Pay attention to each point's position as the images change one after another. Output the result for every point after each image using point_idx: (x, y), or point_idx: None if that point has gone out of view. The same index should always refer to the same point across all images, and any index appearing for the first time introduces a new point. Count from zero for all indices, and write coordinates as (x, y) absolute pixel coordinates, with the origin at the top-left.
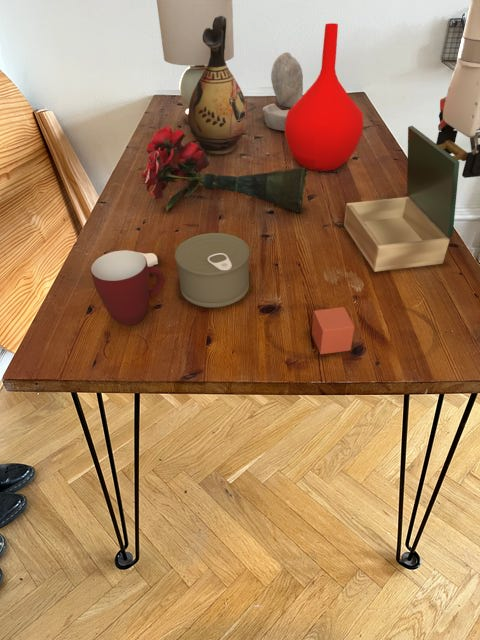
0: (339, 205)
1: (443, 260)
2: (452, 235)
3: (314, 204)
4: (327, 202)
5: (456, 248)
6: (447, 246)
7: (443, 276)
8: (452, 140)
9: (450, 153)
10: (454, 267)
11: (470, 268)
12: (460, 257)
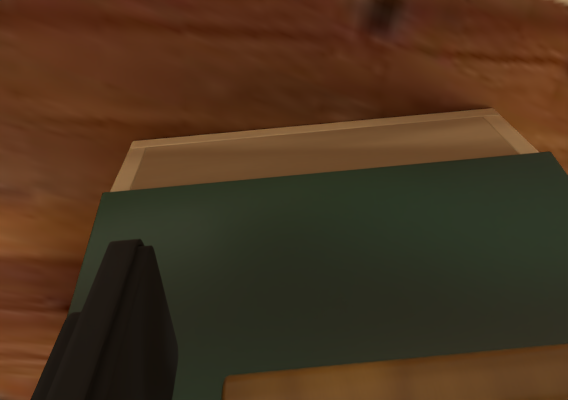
0: (26, 327)
1: (498, 114)
2: (554, 158)
3: (27, 390)
4: (5, 356)
5: (407, 8)
6: (525, 140)
7: (563, 134)
8: (130, 359)
9: (152, 254)
10: (529, 74)
11: (558, 15)
12: (475, 21)
